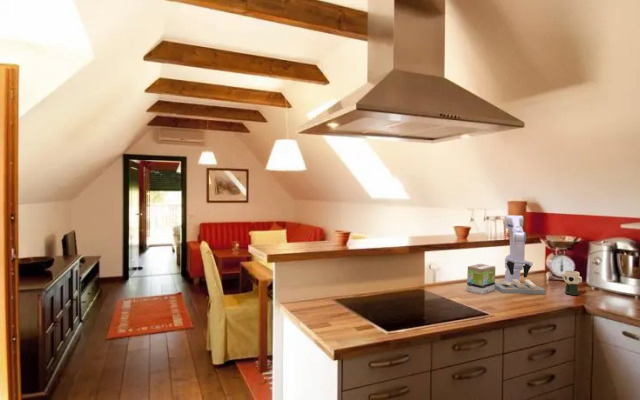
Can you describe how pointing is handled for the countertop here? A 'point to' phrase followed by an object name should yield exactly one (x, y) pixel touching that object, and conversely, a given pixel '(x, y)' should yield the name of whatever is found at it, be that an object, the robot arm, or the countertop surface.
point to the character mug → (571, 281)
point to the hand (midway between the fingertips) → (518, 275)
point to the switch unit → (518, 289)
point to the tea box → (481, 278)
